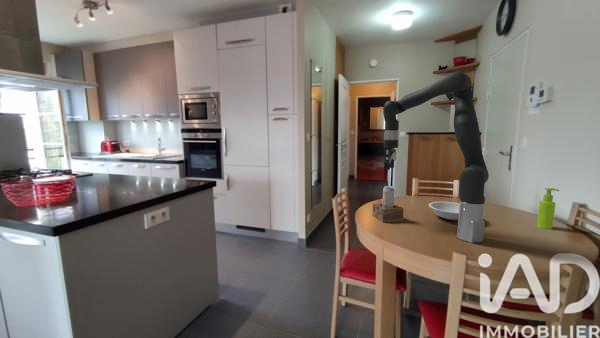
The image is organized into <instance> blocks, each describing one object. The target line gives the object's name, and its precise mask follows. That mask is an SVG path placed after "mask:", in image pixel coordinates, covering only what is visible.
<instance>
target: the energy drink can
mask: <svg viewBox="0 0 600 338" xmlns="http://www.w3.org/2000/svg"><path fill="white" fill-rule="evenodd" d="M382 189H383V190H382V203H383V204H382V207H384V208H394V204H395V188H394V186H392V185H384V187H383V188H382Z"/></svg>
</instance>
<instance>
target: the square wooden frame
mask: <svg viewBox="0 0 600 338" xmlns="http://www.w3.org/2000/svg"><path fill="white" fill-rule="evenodd" d="M382 204H383V202H380V203H372V213H371V214H372V217H373V218H375V219H377V220H378V221H380V222H381V223H393V222H404V207H401V206H399V205H397V204H396V203H394V208H384V207H382Z"/></svg>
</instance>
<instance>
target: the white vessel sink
mask: <svg viewBox="0 0 600 338" xmlns="http://www.w3.org/2000/svg"><path fill="white" fill-rule="evenodd" d="M459 206H460V202H454V201H433V202H430V203H428V207H429V208H431V210H432V211H433V213H434V214H435V215H437V216H438V217H441V219H446V220H451V221H458V217H459Z"/></svg>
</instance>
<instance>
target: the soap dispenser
mask: <svg viewBox="0 0 600 338" xmlns="http://www.w3.org/2000/svg"><path fill="white" fill-rule="evenodd" d="M544 190H545V191H546V193H545V194H543V200H539V204H538V209H537V210H538V211H537V212H538V213H537V218H536V219H537V220H536V227H537V228H539V229H540V228H541V229H545V230H552V229H553V225H554V216H555V212H556V211H555V209H556V204H557V203H556V202H554V199H553V198H554V195H553V194H552V191H556V192H557V191H558V192H560V189H556V188H553V187H552V188H550V187H548V188H546V187H545V188H544Z"/></svg>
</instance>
